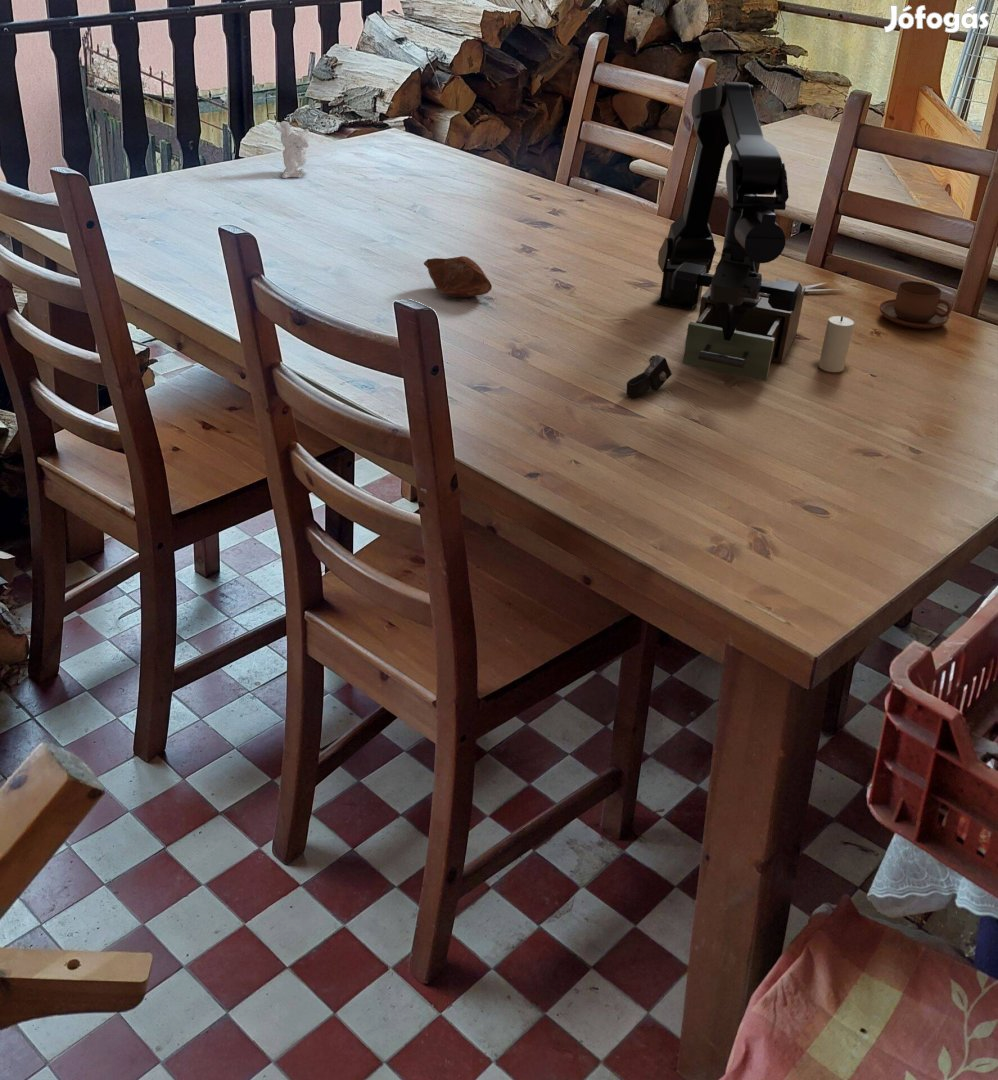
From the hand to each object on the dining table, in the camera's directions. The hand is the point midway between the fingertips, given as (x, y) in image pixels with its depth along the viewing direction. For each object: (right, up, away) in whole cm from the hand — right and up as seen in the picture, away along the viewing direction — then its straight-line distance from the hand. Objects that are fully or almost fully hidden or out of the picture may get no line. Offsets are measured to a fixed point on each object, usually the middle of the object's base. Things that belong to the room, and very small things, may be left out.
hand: (727, 339), depth 181 cm
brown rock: (-42, +13, +30) cm, 53 cm away
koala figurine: (-82, +53, +89) cm, 132 cm away
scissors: (+20, +15, +39) cm, 46 cm away
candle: (+19, -3, +11) cm, 22 cm away
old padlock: (-12, -8, -1) cm, 15 cm away
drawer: (+2, -3, +8) cm, 8 cm away
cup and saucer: (+39, +8, +30) cm, 50 cm away
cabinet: (+7, +3, +19) cm, 20 cm away
